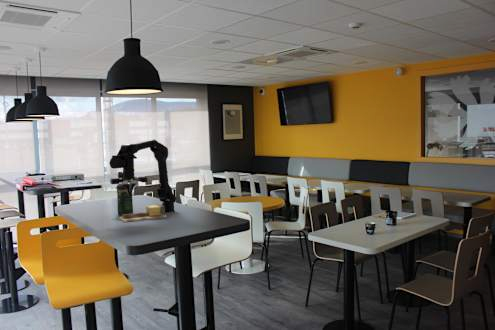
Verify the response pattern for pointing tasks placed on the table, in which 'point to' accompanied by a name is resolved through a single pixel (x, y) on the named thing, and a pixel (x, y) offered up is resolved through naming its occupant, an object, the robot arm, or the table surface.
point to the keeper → (153, 210)
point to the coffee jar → (124, 200)
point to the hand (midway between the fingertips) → (129, 196)
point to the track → (142, 215)
